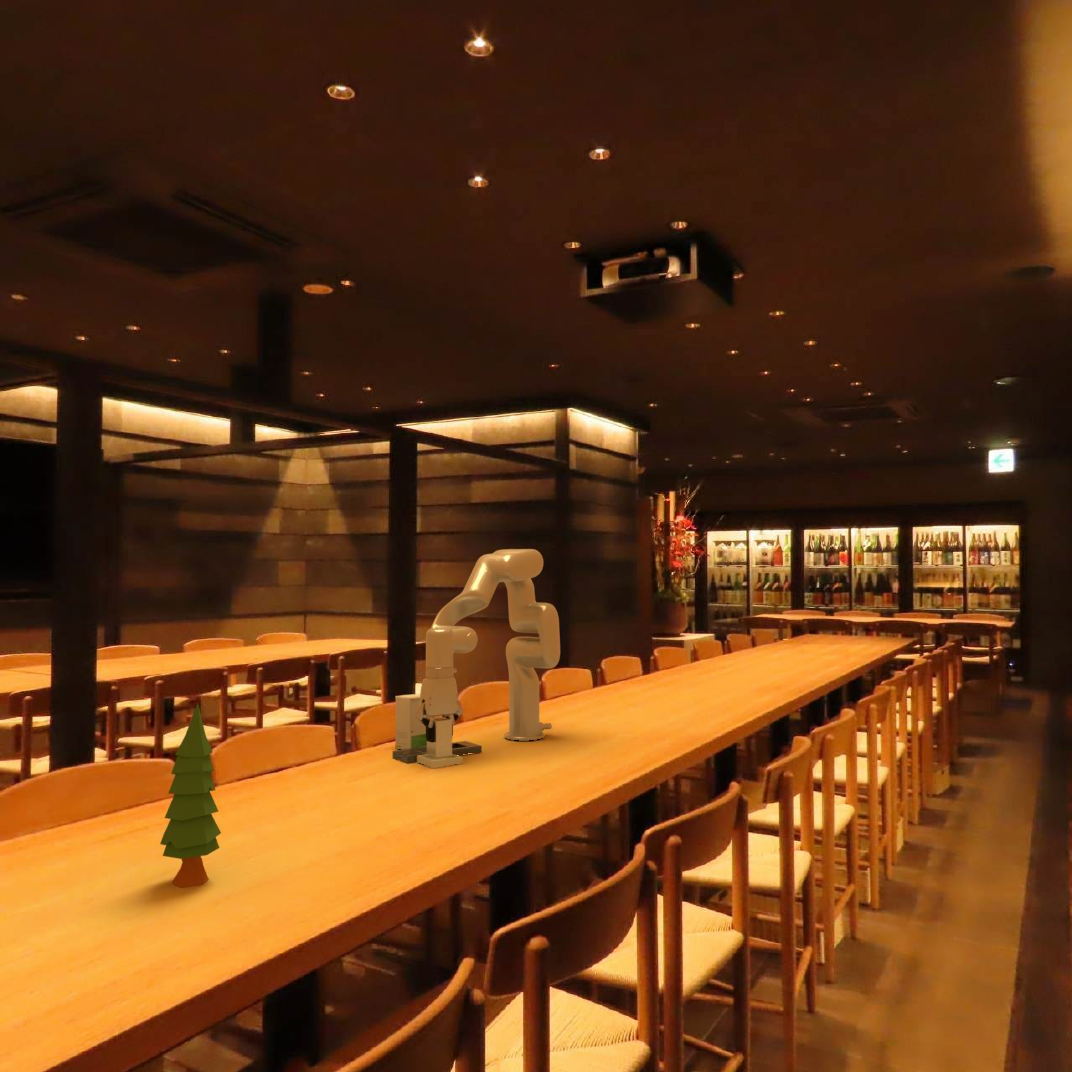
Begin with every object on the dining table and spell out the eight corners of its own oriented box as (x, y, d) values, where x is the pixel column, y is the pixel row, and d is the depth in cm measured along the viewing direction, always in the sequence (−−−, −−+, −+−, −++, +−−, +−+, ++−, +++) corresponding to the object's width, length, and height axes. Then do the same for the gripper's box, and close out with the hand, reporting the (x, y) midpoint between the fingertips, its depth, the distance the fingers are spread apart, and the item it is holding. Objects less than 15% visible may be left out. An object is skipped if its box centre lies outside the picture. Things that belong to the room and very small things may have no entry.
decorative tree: (226, 872, 156) (228, 699, 158) (209, 891, 147) (210, 707, 148) (170, 872, 156) (172, 700, 157) (149, 892, 147) (151, 708, 148)
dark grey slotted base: (465, 747, 265) (465, 740, 265) (481, 752, 258) (481, 745, 258) (392, 758, 251) (392, 750, 251) (407, 763, 244) (407, 755, 244)
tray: (445, 758, 250) (445, 751, 250) (462, 764, 243) (462, 757, 243) (416, 762, 245) (416, 755, 245) (433, 768, 238) (433, 761, 238)
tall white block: (442, 753, 247) (442, 716, 248) (452, 756, 243) (452, 718, 244) (426, 755, 245) (426, 718, 245) (436, 758, 240) (436, 720, 241)
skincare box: (409, 751, 259) (409, 697, 260) (393, 749, 263) (393, 696, 264) (429, 747, 266) (429, 694, 267) (413, 744, 270) (414, 692, 271)
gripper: (459, 670, 253) (458, 735, 252) (405, 674, 243) (405, 742, 242) (473, 672, 247) (473, 739, 246) (418, 677, 237) (418, 746, 236)
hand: (439, 739), depth 244 cm, fingers closed on tall white block, 5 cm apart
